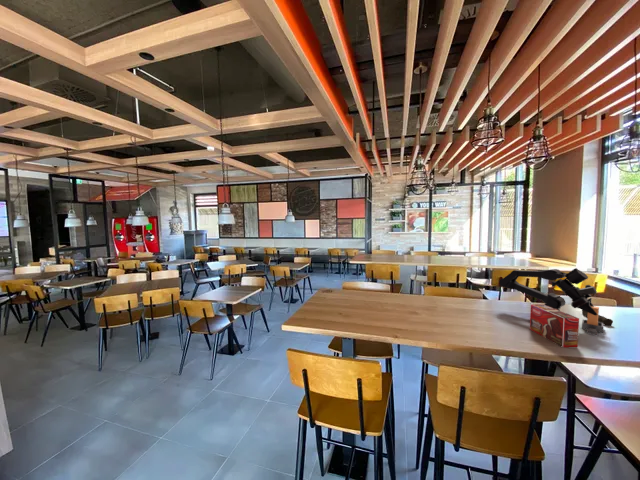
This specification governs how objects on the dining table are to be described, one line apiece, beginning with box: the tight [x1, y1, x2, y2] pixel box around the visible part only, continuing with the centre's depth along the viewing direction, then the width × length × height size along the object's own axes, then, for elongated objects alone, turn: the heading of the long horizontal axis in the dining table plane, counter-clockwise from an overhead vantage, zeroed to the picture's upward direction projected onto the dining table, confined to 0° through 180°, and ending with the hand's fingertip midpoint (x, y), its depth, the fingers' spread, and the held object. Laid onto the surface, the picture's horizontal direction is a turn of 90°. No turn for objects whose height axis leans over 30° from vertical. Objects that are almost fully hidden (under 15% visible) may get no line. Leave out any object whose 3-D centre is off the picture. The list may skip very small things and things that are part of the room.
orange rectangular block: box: [586, 305, 600, 326], centre depth 137 cm, size 4×4×10 cm
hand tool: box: [581, 309, 614, 327], centre depth 150 cm, size 19×4×5 cm, turn 164°
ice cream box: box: [529, 303, 580, 348], centre depth 127 cm, size 20×6×13 cm, turn 176°
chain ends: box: [581, 318, 604, 337], centre depth 137 cm, size 22×8×3 cm, turn 134°
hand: (596, 314), depth 136 cm, fingers closed on orange rectangular block, 4 cm apart
